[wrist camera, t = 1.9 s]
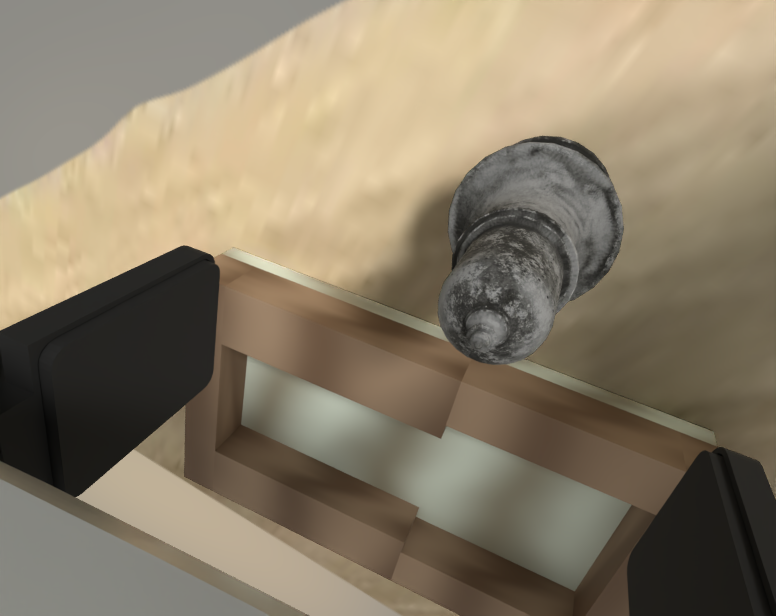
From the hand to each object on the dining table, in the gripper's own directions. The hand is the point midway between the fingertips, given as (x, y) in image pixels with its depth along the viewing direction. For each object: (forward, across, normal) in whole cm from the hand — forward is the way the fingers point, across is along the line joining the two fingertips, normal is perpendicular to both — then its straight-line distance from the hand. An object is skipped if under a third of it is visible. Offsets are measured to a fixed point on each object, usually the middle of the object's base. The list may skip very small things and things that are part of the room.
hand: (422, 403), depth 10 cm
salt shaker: (+14, -1, -1) cm, 14 cm away
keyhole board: (+14, +1, +13) cm, 19 cm away
